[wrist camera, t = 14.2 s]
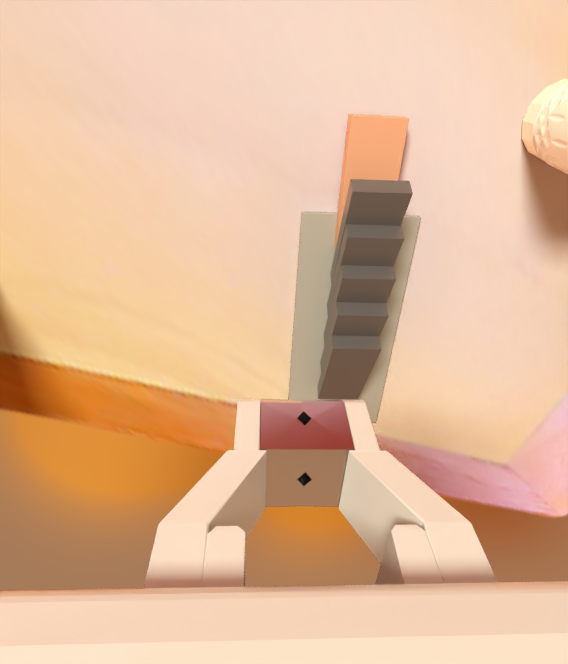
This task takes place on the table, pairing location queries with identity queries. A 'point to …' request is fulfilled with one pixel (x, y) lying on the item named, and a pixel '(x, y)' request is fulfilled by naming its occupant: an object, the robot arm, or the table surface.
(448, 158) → the table surface
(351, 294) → the domino
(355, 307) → the domino
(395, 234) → the domino
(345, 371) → the domino
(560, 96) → the white cup
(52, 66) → the table surface
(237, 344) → the table surface
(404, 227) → the felt strip
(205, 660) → the robot arm
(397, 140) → the domino
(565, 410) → the table surface
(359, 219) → the domino
